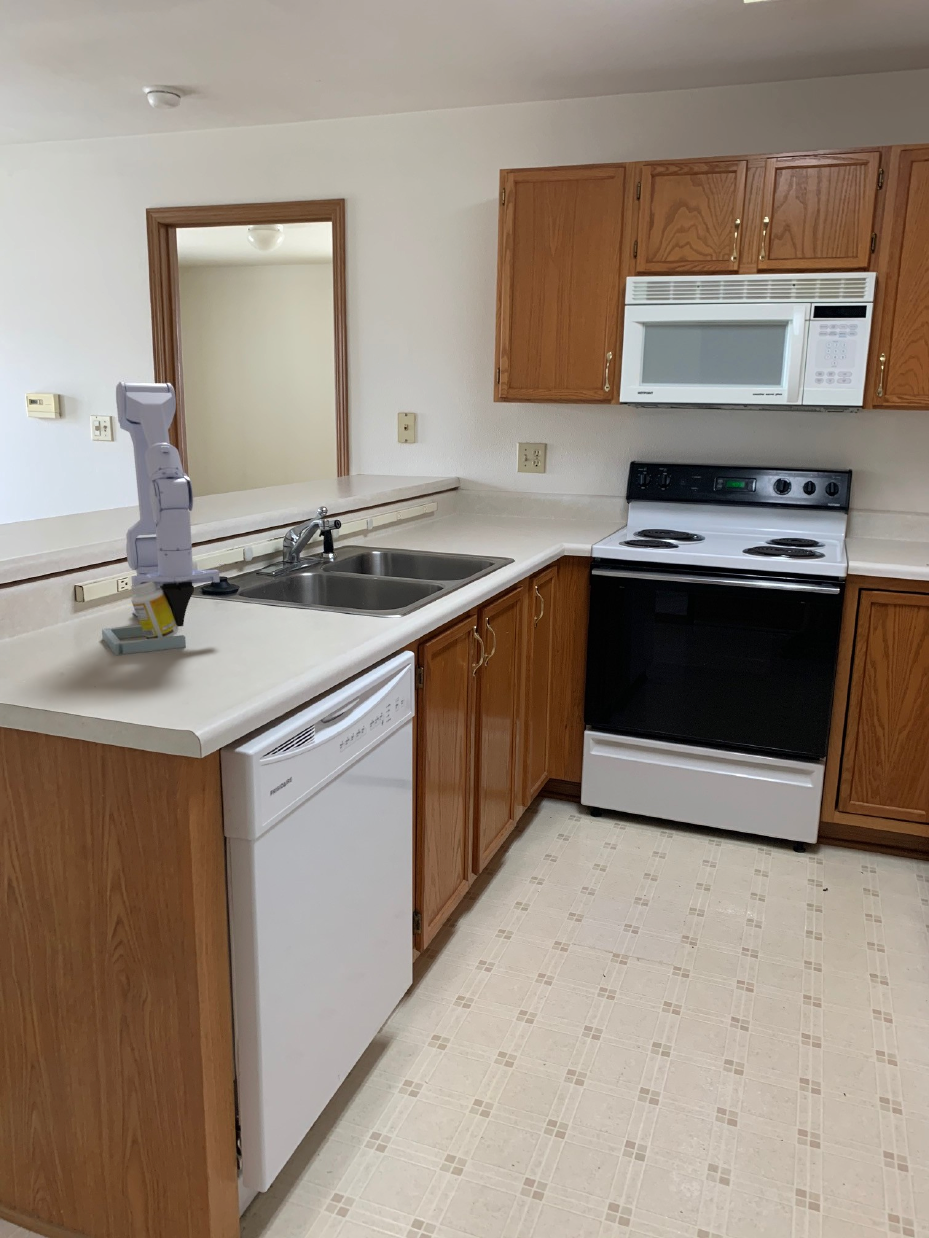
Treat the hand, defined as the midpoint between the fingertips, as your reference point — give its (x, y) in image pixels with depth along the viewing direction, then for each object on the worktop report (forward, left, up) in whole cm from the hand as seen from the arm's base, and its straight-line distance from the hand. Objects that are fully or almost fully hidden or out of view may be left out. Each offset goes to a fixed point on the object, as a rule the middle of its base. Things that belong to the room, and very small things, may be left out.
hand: (179, 625), depth 161 cm
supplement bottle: (0, -3, -2) cm, 3 cm away
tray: (0, -6, -2) cm, 7 cm away
